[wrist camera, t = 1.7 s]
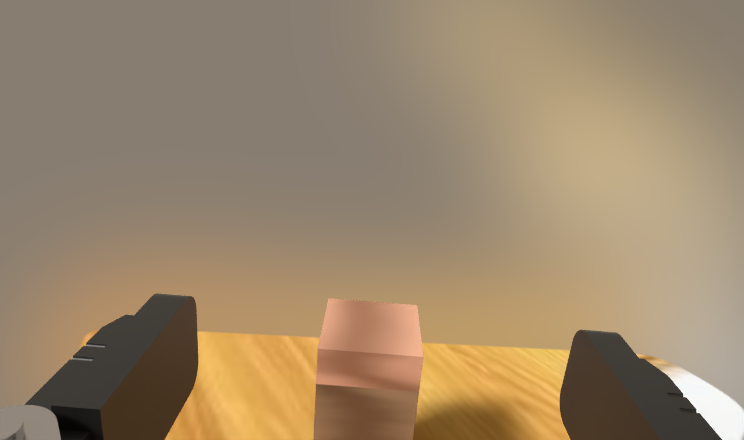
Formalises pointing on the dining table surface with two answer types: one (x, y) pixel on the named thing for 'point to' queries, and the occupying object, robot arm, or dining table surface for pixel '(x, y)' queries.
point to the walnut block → (368, 371)
